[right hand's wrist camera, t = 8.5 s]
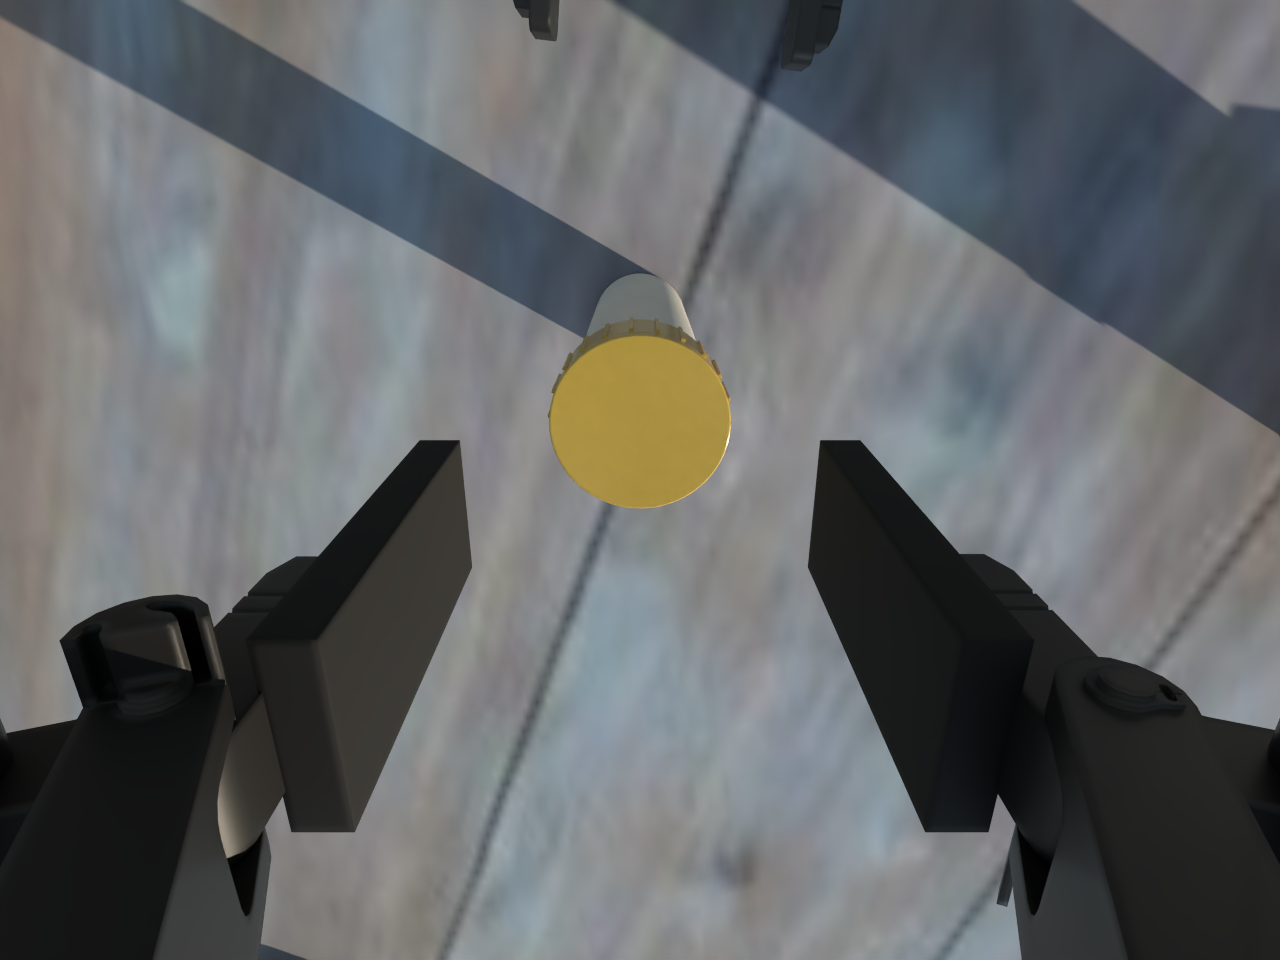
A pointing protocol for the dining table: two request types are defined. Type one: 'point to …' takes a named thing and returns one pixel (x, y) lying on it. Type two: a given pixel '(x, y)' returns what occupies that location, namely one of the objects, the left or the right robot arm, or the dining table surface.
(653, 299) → the jar
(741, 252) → the dining table surface
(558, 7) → the left robot arm
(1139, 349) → the dining table surface
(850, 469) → the right robot arm
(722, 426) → the lid
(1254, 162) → the dining table surface
